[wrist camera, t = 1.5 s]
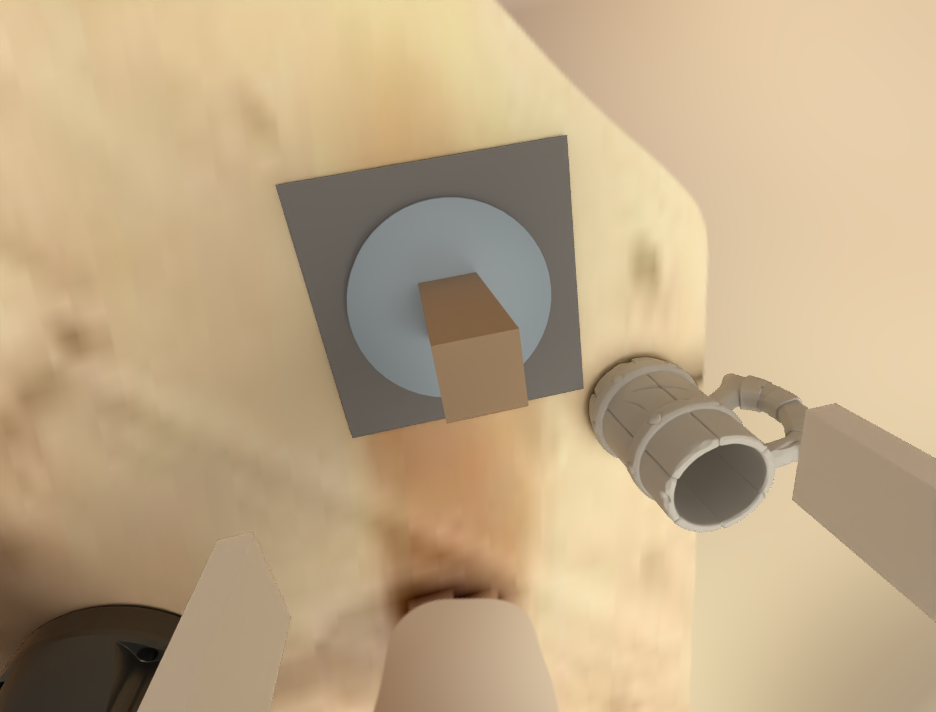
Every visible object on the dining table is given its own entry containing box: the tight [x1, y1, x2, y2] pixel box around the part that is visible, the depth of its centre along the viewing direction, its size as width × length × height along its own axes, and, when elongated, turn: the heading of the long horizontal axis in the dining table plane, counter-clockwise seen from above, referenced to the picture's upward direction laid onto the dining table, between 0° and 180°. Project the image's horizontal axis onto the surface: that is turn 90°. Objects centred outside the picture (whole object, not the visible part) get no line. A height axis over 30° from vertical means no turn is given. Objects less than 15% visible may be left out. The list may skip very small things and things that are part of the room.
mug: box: [589, 357, 808, 532], centre depth 29 cm, size 8×12×12 cm, turn 107°
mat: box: [276, 135, 583, 438], centre depth 29 cm, size 16×16×1 cm
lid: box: [347, 196, 551, 423], centre depth 23 cm, size 12×12×11 cm
